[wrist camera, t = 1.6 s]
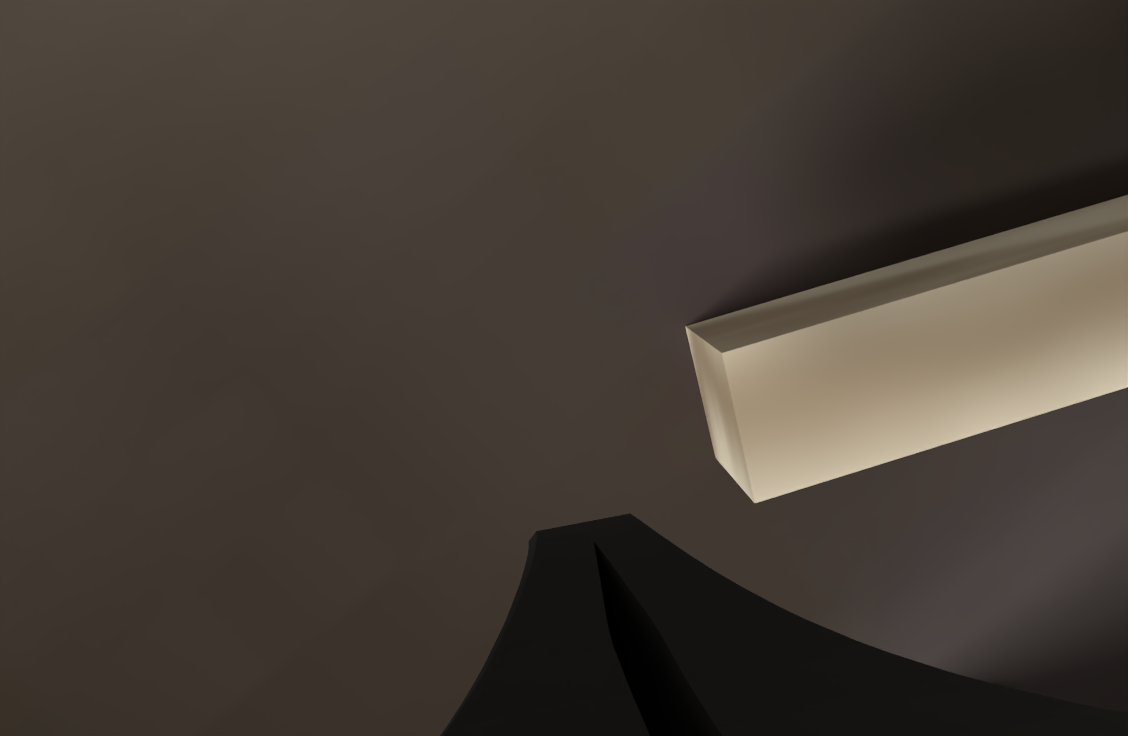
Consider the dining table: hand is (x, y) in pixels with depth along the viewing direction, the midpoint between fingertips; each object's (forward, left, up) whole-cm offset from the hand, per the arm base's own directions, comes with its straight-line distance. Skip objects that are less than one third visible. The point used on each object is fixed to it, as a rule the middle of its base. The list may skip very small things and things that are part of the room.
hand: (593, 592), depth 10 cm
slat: (0, -10, -9) cm, 14 cm away
